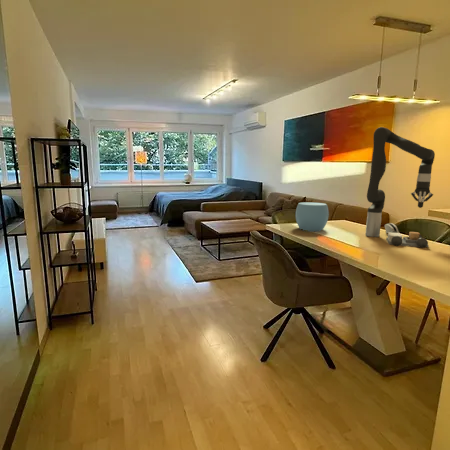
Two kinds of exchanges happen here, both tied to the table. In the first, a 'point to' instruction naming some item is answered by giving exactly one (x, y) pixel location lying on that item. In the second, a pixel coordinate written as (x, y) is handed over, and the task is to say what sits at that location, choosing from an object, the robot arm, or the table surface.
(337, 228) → the table surface
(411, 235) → the block
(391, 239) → the chassis
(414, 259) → the table surface
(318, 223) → the planter
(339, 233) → the table surface
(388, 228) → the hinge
